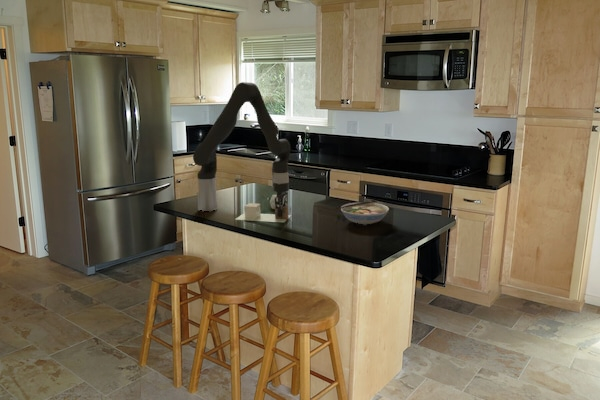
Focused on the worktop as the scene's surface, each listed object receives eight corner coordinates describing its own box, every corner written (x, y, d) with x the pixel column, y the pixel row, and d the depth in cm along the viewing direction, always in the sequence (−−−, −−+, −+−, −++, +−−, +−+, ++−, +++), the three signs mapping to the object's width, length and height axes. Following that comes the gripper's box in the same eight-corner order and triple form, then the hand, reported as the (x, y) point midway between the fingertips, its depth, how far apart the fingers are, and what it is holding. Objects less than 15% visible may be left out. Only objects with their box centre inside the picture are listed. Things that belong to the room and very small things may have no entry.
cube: (245, 218, 255) (244, 206, 254) (249, 214, 261) (248, 203, 259) (256, 218, 254) (256, 206, 252) (260, 215, 259) (260, 203, 258)
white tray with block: (234, 220, 253) (234, 207, 251) (244, 213, 265) (243, 201, 264) (283, 223, 247) (283, 210, 245) (291, 216, 259) (291, 203, 257)
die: (279, 213, 268) (289, 197, 269) (265, 205, 268) (275, 189, 269) (280, 215, 276) (289, 199, 277) (266, 206, 276) (275, 191, 277)
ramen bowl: (358, 233, 230) (358, 215, 228) (328, 221, 249) (328, 205, 247) (400, 224, 243) (401, 207, 241) (369, 213, 262) (369, 198, 260)
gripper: (277, 178, 257) (278, 210, 261) (268, 184, 243) (269, 218, 247) (292, 178, 255) (293, 211, 259) (284, 184, 241) (285, 219, 245)
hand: (281, 214), depth 253 cm, fingers open, 5 cm apart
